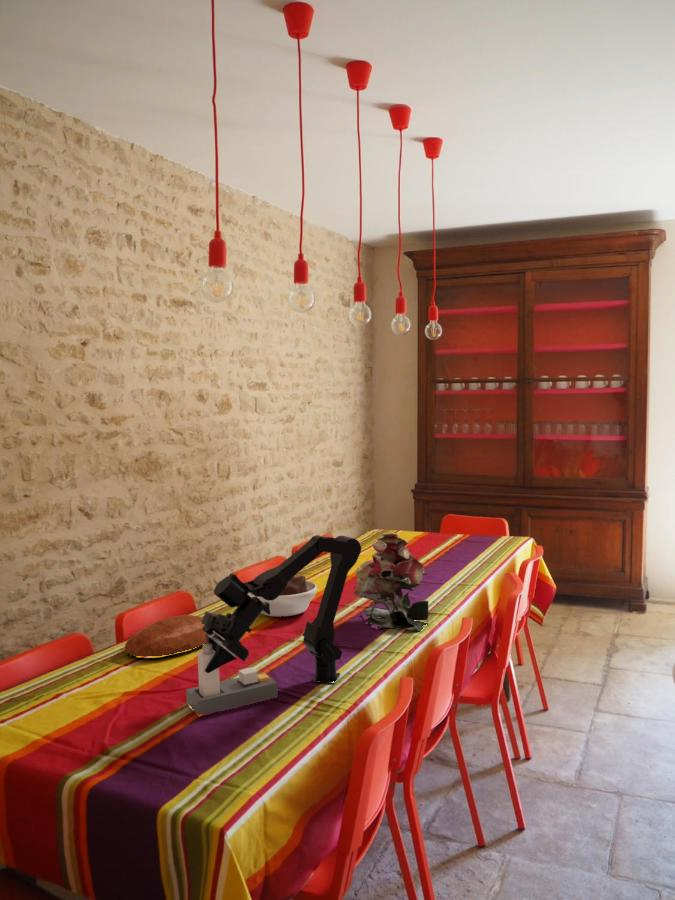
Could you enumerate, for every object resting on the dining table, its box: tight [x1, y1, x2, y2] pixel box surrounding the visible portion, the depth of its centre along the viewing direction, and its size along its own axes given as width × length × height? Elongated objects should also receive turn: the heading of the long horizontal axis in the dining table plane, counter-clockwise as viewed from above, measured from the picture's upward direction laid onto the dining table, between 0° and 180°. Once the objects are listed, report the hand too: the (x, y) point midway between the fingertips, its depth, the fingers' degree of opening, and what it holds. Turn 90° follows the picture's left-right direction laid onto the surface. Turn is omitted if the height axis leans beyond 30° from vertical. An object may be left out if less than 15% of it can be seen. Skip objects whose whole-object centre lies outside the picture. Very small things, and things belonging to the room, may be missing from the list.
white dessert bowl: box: [248, 575, 318, 617], centre depth 264 cm, size 25×25×15 cm
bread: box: [124, 614, 208, 656], centre depth 232 cm, size 23×32×9 cm
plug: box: [197, 643, 221, 698], centre depth 183 cm, size 4×4×12 cm
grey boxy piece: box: [185, 666, 279, 715], centre depth 186 cm, size 21×9×7 cm, turn 120°
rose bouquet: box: [353, 532, 430, 632], centre depth 252 cm, size 26×29×30 cm
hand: (203, 669), depth 182 cm, fingers closed on plug, 4 cm apart
